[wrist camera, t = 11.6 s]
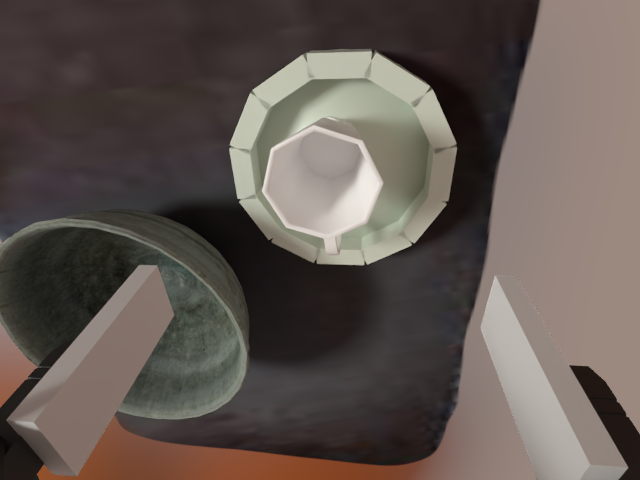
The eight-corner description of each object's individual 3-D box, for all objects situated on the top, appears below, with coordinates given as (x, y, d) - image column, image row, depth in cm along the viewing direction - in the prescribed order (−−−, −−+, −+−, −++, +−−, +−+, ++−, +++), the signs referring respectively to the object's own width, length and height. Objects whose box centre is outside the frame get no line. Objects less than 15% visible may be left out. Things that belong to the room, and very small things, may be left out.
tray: (228, 52, 26) (213, 56, 23) (461, 44, 24) (473, 48, 22) (256, 243, 34) (248, 261, 32) (431, 247, 32) (437, 267, 30)
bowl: (258, 357, 43) (232, 442, 34) (80, 313, 42) (9, 389, 33) (294, 204, 32) (270, 273, 23) (54, 139, 31) (-63, 186, 22)
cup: (376, 91, 25) (381, 118, 18) (381, 218, 30) (386, 277, 23) (278, 101, 26) (248, 131, 19) (298, 222, 31) (280, 280, 24)
